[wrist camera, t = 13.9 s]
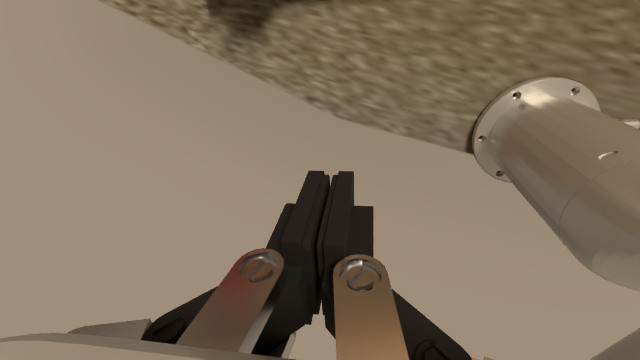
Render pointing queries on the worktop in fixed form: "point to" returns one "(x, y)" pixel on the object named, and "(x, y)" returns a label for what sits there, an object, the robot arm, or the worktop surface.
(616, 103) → the worktop surface
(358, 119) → the worktop surface
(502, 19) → the worktop surface
